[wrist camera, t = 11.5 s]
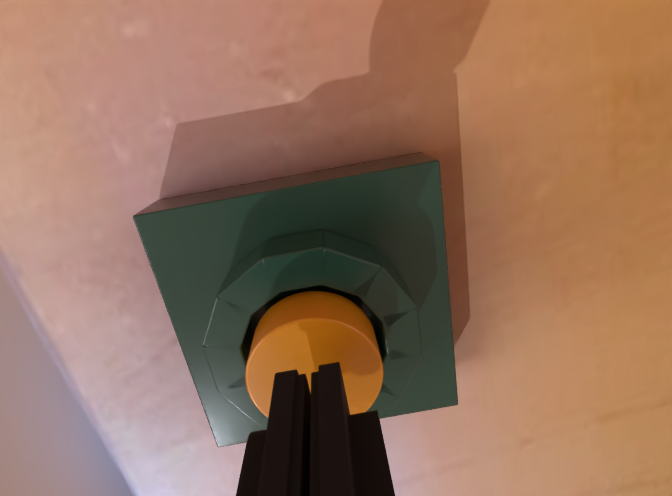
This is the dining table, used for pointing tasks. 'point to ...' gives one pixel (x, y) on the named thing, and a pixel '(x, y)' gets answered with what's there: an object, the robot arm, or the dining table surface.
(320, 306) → the button
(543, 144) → the dining table surface
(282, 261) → the switch box
